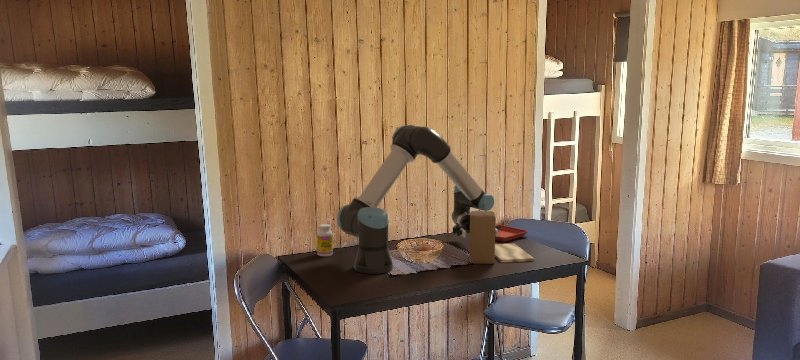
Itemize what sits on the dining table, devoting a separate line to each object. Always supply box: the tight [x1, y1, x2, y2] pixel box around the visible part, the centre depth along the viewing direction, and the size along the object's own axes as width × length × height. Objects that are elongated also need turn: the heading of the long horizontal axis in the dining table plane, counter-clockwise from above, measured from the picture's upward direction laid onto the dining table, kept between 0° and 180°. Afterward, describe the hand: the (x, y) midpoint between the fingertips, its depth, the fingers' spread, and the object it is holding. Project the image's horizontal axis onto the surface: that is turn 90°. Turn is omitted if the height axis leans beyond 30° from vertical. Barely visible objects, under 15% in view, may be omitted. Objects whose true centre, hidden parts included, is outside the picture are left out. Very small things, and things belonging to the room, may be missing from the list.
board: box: [495, 242, 535, 263], centre depth 266 cm, size 14×24×1 cm, turn 9°
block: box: [468, 210, 497, 265], centre depth 254 cm, size 10×10×20 cm
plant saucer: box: [495, 224, 529, 243], centre depth 296 cm, size 18×18×3 cm
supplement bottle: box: [316, 223, 334, 257], centre depth 264 cm, size 7×7×13 cm
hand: (481, 234), depth 255 cm, fingers open, 13 cm apart
